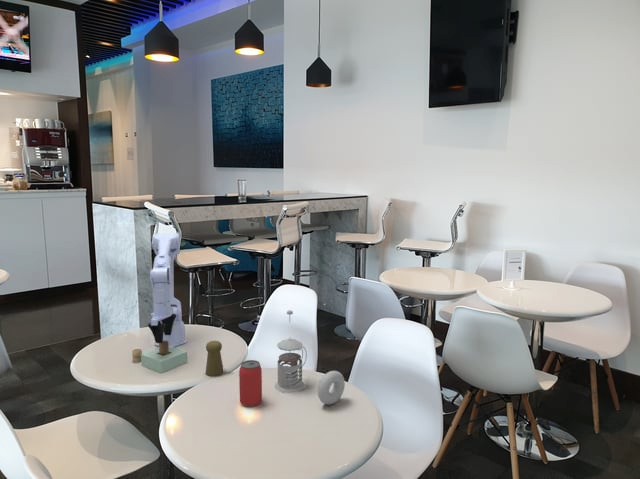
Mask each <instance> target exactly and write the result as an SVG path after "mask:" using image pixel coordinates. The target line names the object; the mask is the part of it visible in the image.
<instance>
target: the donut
mask: <svg viewBox="0 0 640 479" xmlns="http://www.w3.org/2000/svg"><path fill="white" fill-rule="evenodd" d="M345 383H346V382H345V378H344V376H343V374H342V373H341V372H339V371H337V370H330V371H328V372H326V373H325V374H324V375H323V376H322V378H321V379H320V380H319V384H318V386H317V396H318V399H319V400H320V402H321V403H322V404H324V405H328V406H329V405H334V404H335V403H337V402H338V401H339V400H340V399H341V397H342V395H343V394H344V390H345ZM332 385H333V386H332ZM331 386H332V389H331V390H330V388H331Z"/></svg>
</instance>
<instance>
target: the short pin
mask: <svg viewBox="0 0 640 479" xmlns="http://www.w3.org/2000/svg"><path fill="white" fill-rule="evenodd" d="M131 352H132V354H131V356H132V363H133V364H138V363H139V364H140V363H141V354H143V350H142V349H141V348H135V349H132V351H131Z"/></svg>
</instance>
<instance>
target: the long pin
mask: <svg viewBox="0 0 640 479" xmlns="http://www.w3.org/2000/svg"><path fill="white" fill-rule="evenodd" d="M158 348H159V355H162V356H164V355H167V354H169V344H168V341H162V343H159V346H158Z"/></svg>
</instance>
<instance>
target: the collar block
mask: <svg viewBox="0 0 640 479" xmlns="http://www.w3.org/2000/svg"><path fill="white" fill-rule="evenodd" d="M140 363H141V366H142V367H145V368H147V369H150V370H152V371H155V372H158V373H159V374H163V373H165V372H168V371H170V370H172V369H174V368H177V367H180V366H182V365H184V364H186V363H188V351H186V350H184V349H180V348H178V347H171V346H169V354H167V355H164V356H162V355H159V347H158V348H156V349H153V350H150V351H147V352H144V353H142V354H141V362H140Z"/></svg>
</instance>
